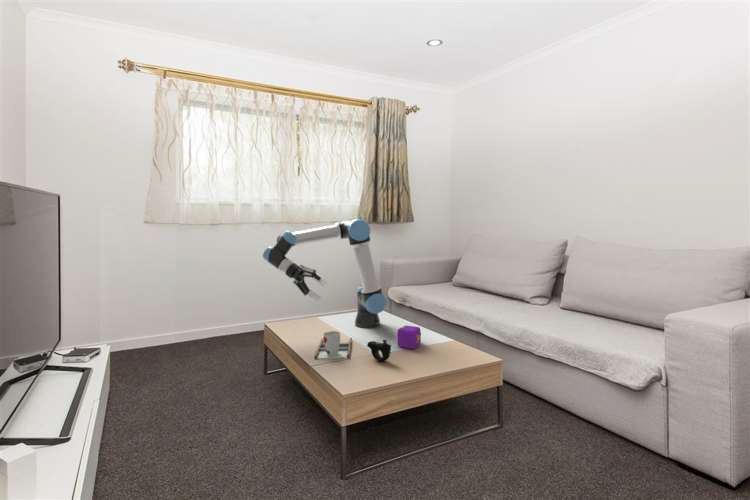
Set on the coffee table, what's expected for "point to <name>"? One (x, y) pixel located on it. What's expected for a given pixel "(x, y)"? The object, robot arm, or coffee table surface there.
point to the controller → (382, 347)
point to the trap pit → (342, 347)
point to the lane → (322, 343)
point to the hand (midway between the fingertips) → (322, 291)
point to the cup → (332, 342)
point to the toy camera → (409, 337)
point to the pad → (324, 356)
